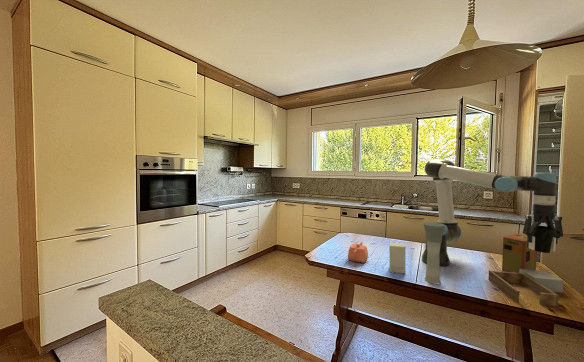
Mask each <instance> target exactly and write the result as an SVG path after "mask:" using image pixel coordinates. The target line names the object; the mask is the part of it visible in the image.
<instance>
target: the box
mask: <svg viewBox="0 0 584 362" xmlns="http://www.w3.org/2000/svg"><path fill="white" fill-rule="evenodd" d="M502 238H503V241H502V242H503V243H502V261H501V262H502V263H501V271H503V272H514V273H519V269H530V270H537V259H538V258H537V257H538V256H537V254H538V253H537V251H535V250H532V249H529V242H528V241H527V235H525V234H523V233H513V234H511V235H506V236H503V237H502Z"/></svg>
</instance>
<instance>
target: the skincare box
mask: <svg viewBox="0 0 584 362" xmlns="http://www.w3.org/2000/svg"><path fill="white" fill-rule="evenodd" d="M388 249H389V273H393V272H396V273H395V274H402V273H404V275H405V274H406V244H405V243H400V242H397V243H396V242H389V248H388Z"/></svg>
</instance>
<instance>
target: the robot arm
mask: <svg viewBox="0 0 584 362" xmlns="http://www.w3.org/2000/svg"><path fill="white" fill-rule="evenodd" d="M424 173H425V174H426V175H427V176H428V177H430V178H432V181H433V182H434V183H435V186H436V197H437V198H436V199H437V200H436V201H437V211H438V220H436V223H441V224H444V225H445V228H444V232H443V235H442V242H441V245H440V253H439V267H440V266H441V267H442V268H443V267H444V268H445V267H449V266H450V264H451V260H450V258H449V254H448V244H449V243H450V244H451V243H454V242H457V241H458V240H460V239H461V237H462V235H463V229H462V228H461V226H459V223H458V221H457V220H456V219H455V210H454V209H455V208H454V200H453V199H454V198H453V187H452V182H453V181H458V182H461V183H466V184H471V185H477V186H480V187H484V188H489V189H494V190H497V191H499V192H502V193H511V192H518V191H522V192H533V197H532V198H533V199H532V202H533V204H532V212H533V213H532V214H525V215H524V218H525V220H524V225H523V226H524V227H523V230H522V234H523V235H527V241H528V242H529V249H532V250H534V249H535V237H534V236H533V235H534V233H535V232H536V227H537V228H538V226H541V224H546V226H547V227H548V229H553V228H554V234H553V239H552V244H551V250H550V251H552V252H556V246H557V245H558V243H559V242H558V240H559V239H560V238H563V237H564V229H563V224H562V221H563V216H560V215H556V214H555V213H556V205H555V204H556V199H557V198H556V196H557V195H556V194H557V193H556V192H557V185H558V184H557V183H558V182H557V174H556V173H555V172H535V173H534V175H533V176H524V175H502V174H497V173H491V172H485V171H480V170H474V169H470V168H464V167H458V166H456V164H455V163H454V162H453V161H452V160H450V159H448V160H447V159H432V160H429V161H428V162H426V164H425V165H424ZM553 221H554V222H553ZM424 242H425V243H424V244H425V248H424V251H423V253H422V255H421V261H422V262H423V263H425V264H427V253H428V251H427V241H426V237H425V241H424Z"/></svg>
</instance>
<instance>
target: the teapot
mask: <svg viewBox="0 0 584 362" xmlns="http://www.w3.org/2000/svg"><path fill="white" fill-rule="evenodd" d="M347 258H348V260H349V261H352V262H355V261H356V263H360V262H361V263H362V264H364V263H366V262H367V260H368V258H369V252H368V247H367V246H366V245H363V241H360V243H353V244H351V245H350V246H349V248H348V251H347Z"/></svg>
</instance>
